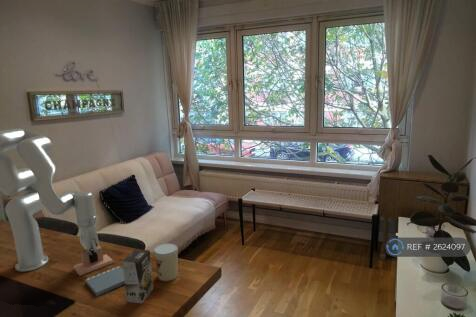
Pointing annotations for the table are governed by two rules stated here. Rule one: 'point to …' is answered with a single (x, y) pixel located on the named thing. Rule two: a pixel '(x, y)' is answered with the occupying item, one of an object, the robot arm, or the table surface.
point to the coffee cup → (166, 261)
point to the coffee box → (138, 276)
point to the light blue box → (106, 281)
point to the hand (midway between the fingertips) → (92, 260)
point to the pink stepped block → (88, 266)
